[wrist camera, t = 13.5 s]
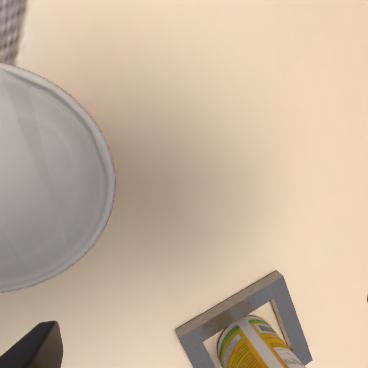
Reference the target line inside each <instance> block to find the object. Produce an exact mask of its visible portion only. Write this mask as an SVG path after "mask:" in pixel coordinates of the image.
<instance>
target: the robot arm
mask: <svg viewBox="0 0 368 368" xmlns="http://www.w3.org/2000/svg"><path fill="white" fill-rule="evenodd" d="M367 301H368V297H367ZM62 357H63V344H62V339H61V334H60V328H59V324H58V322H57V321H48V322H42V323H39V324H38V325H37V326H35V327H34V328H33V329H32V330H31V331H30V332H29V333H27V334H26V335H25V336H24V337H23V338H22V339H20V340H19V341H18V342H17V343H16V344H15V345H13V346H12V347H11V348H10V349H9V350H8V351H6V352H5V353H4V354H3V355H2V356H1V357H0V368H61V363H62Z"/></svg>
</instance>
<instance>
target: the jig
mask: <svg viewBox="0 0 368 368" xmlns="http://www.w3.org/2000/svg"><path fill="white" fill-rule="evenodd" d="M269 301H271V304H272V306H273V309H274V312H275V314H276V317H277V320H278V322H279V325H280V328H281V330H282V333H283V335H284V338H285V341H286V343H287V346H288V347H289V349H290V350H291V351H292V352H293V353H294V354H295V355H296V357H297V358H298V359H299V360H300V361H301V362H302V364H303V365H304V366H305V365H306V364H308V363H309V362H311V361H312V357H311V354H310V351H309V348H308V345H307V342H306V340H305V337H304V334H303V331H302V328H301V325H300V323H299V320H298V317H297V314H296V311H295V308H294V305H293V303H292V300H291V297H290V294H289V291H288V288H287V285H286V283H285V280H284V277H283V275H281V274H280V273H279V272H278V271H274V272H273V273H271V274H269V275H268V276H266V277H264V278H262V279H261V280H259V281H257V282H256V283H254V284H252V285H251V286H249V287H247V288H245V289H244V290H242V291H240V292H239V293H237V294H235V295H234V296H232V297H230V298H228V299H227V300H225V301H223V302H222V303H220V304H218V305H217V306H215V307H213V308H211V309H210V310H208V311H206V312H205V313H203V314H201V315H199V316H198V317H196V318H194V319H193V320H191V321H189V322H188V323H186V324H184V325H182V326H181V327H179V328H177V329H176V332H177V335H178V337H179V340H180V341H181V343H182V345H183V347H184V349H185V351H186V353H187V355H188V357H189V359H190V361H191V363H192V365H193V367H194V368H215V367H214V365H213V363H212V361H211V359H210V357H209V355H208V353H207V350H206V348H205V346H204V344H203V341H205V340H206V339H208V338H209V337H211V336H213V335H214V334H216V333H218V332H219V331H221V330H223V329H224V328H226V327H228V326H229V325H231V324H232V323H234V322H236V321H237V320H239V319H241V318H242V317H244V316H246V315H247V314H249V313H251V312H252V311H254V310H255V309H257V308H259V307H260V306H262V305H264V304H265V303H267V302H269Z"/></svg>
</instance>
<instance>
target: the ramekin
mask: <svg viewBox="0 0 368 368" xmlns="http://www.w3.org/2000/svg"><path fill="white" fill-rule="evenodd" d="M114 197H115V171H114V164H113V160H112V156H111V153H110V150H109V147H108V144H107V142H106V140H105V137H104V135H103V134H102V132H101V130H100V128H99V127H98V125H97V124H96V122H95V121H94V119H93V118H92V117H91V116H90V114H89V113H88V112H87V111H86V110H85V109H84V108H83V107H82V106H81V105H80V104H79V103H78V102H77V101H76V100H75V99H74V98H73V97H72V96H71V95H69V94H68V93H67V92H65V91H64V90H63V89H61V88H60V87H58V86H57V85H55V84H53V83H52V82H50V81H48V80H46V79H45V78H43V77H41V76H39V75H36V74H34V73H32V72H30V71H27V70H24V69H22V68H19V67H15V66H12V65H8V64H4V63H0V293H4V292H9V291H14V290H19V289H23V288H27V287H30V286H34V285H36V284H39V283H41V282H44V281H46V280H48V279H51V278H53V277H55V276H57V275H59V274H61V273H63V272H64V271H66V270H67V269H68V268H70V267H71V266H72V265H74V264H75V263H76V262H77V261H78V260H80V259H81V258H82V257H83V256H84V255H85V254H86V253H87V252H88V251H89V250H90V248H91V247H92V246H93V245H94V244H95V242H96V241H97V239H98V238H99V236H100V235H101V233H102V232H103V230H104V228H105V226H106V224H107V221H108V219H109V216H110V213H111V210H112V206H113V202H114Z"/></svg>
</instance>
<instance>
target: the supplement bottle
mask: <svg viewBox="0 0 368 368" xmlns="http://www.w3.org/2000/svg"><path fill="white" fill-rule="evenodd" d="M218 357H219V360H220V362H221V365H222V367H223V368H306V367H305V366H304V365H303V364H302V362H301V361H300V360H299V359H298V358H297V357H296V355H295V354H294V353H293V352H292V351H291V350H290V349H289V347H288V346H287V345H286V344H285V343H284V342H283V340H282V339H281V338H280V337H279V336H278V335H277V334H276V332H275V331H274V330H273V329H272V328H271V327H270V326H269V325H268V324H267V323H266V322H265V321H264V320H262V319H261V318H258V317H253V316H248V317H243V318H241V319H239V320H237V321H236V322H234V323H232V324H231V325H230V326H229V327H228V328H227V329H226V330H225V331H224V333H223V334H222V336H221V338H220V340H219V344H218Z"/></svg>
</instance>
